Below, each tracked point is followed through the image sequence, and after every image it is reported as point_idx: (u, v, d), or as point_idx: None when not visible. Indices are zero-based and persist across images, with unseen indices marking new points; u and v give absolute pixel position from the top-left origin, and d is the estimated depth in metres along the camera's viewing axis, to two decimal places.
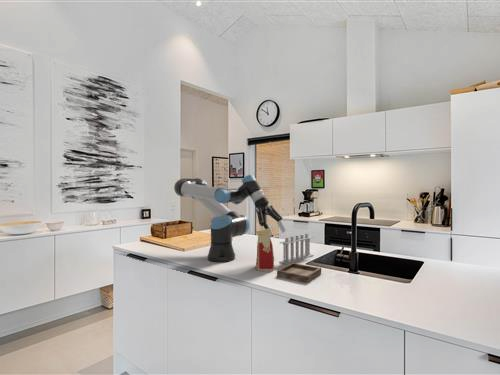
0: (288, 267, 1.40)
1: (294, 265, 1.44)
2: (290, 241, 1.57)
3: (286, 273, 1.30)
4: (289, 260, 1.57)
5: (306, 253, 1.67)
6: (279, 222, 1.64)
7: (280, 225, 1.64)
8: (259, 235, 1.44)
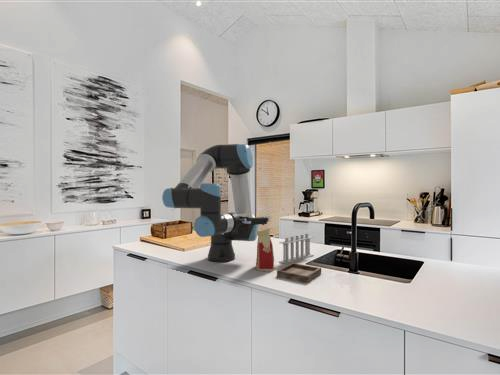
0: (288, 267, 1.40)
1: (294, 265, 1.44)
2: (290, 241, 1.57)
3: (286, 273, 1.30)
4: (289, 260, 1.57)
5: (306, 253, 1.68)
6: None
7: None
8: (259, 235, 1.44)
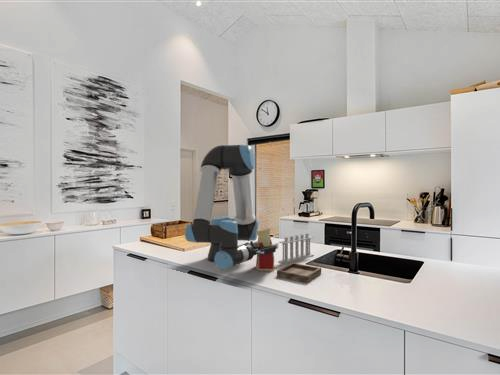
0: (288, 267, 1.40)
1: (294, 265, 1.44)
2: (289, 241, 1.58)
3: (286, 273, 1.30)
4: (288, 260, 1.58)
5: (306, 253, 1.68)
6: None
7: None
8: (259, 235, 1.44)
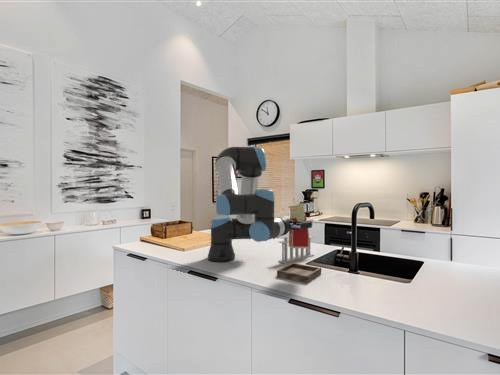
0: (288, 267, 1.40)
1: (294, 265, 1.44)
2: None
3: (286, 273, 1.30)
4: (288, 259, 1.59)
5: (306, 253, 1.68)
6: None
7: None
8: (292, 210, 1.32)
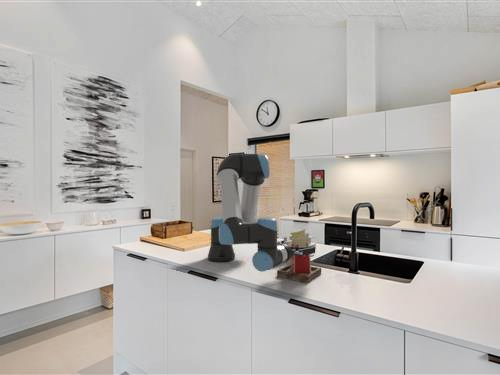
0: (288, 267, 1.40)
1: None
2: None
3: (286, 273, 1.30)
4: None
5: None
6: None
7: None
8: (294, 237, 1.33)
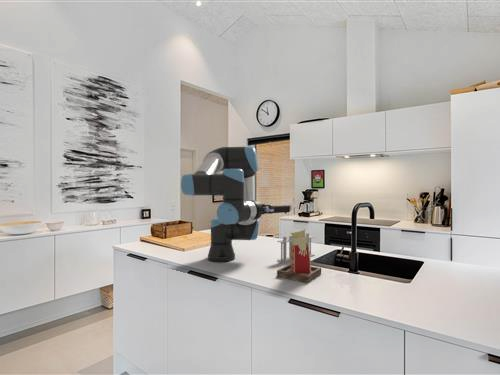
0: (288, 267, 1.40)
1: None
2: (288, 240, 1.59)
3: (286, 273, 1.30)
4: (287, 259, 1.60)
5: None
6: None
7: None
8: (294, 237, 1.33)
